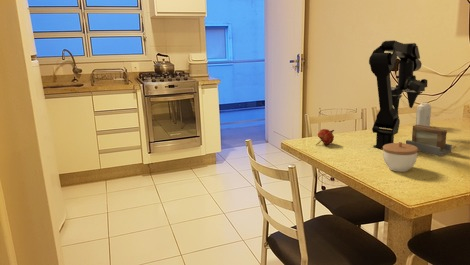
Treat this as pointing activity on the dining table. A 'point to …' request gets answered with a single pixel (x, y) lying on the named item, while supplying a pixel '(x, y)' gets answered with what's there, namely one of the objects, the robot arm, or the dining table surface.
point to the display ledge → (430, 148)
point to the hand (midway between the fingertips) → (403, 109)
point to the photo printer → (423, 114)
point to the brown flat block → (429, 136)
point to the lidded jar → (400, 156)
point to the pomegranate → (326, 136)
